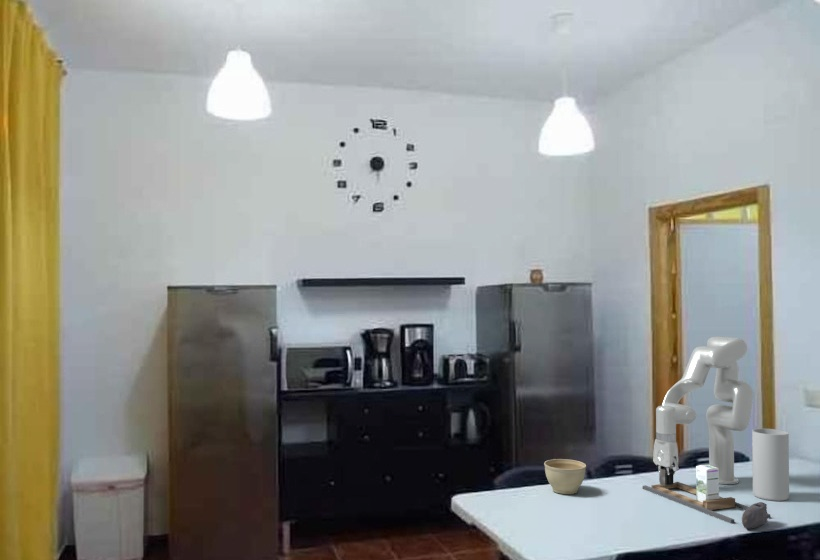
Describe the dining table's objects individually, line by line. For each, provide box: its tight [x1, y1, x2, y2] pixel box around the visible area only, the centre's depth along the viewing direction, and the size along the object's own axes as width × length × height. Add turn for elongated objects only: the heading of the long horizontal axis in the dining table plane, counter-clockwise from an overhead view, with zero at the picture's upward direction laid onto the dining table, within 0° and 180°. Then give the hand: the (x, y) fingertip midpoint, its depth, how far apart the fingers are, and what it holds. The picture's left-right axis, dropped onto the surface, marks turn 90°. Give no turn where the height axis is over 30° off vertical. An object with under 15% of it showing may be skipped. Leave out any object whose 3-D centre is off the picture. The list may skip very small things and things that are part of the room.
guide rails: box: [642, 481, 771, 524], centre depth 267 cm, size 46×18×1 cm, turn 20°
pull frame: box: [650, 467, 736, 511], centre depth 272 cm, size 30×13×8 cm, turn 20°
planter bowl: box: [543, 458, 587, 495], centre depth 282 cm, size 16×16×11 cm
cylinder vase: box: [751, 428, 790, 502], centre depth 274 cm, size 12×12×25 cm
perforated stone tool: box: [741, 501, 769, 530], centre depth 239 cm, size 15×5×7 cm, turn 129°
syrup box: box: [695, 464, 720, 502], centre depth 262 cm, size 6×6×14 cm
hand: (666, 482), depth 285 cm, fingers closed on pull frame, 3 cm apart
